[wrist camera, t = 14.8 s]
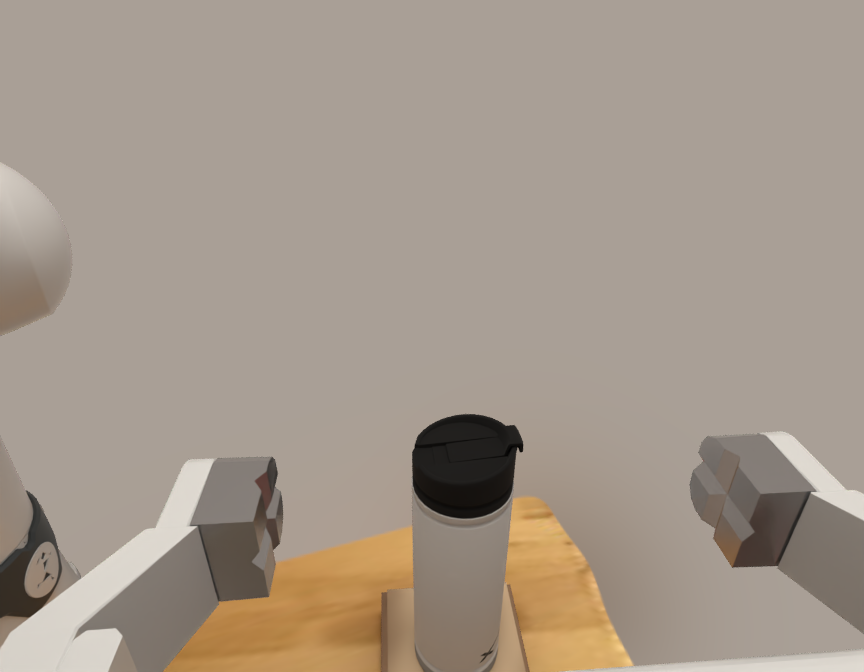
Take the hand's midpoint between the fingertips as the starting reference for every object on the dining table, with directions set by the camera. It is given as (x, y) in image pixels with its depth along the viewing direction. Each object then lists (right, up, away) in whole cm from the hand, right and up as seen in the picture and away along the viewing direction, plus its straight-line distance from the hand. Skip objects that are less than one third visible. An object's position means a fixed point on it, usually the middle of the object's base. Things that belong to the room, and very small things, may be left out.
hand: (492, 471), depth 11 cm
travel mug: (+1, -21, +32) cm, 39 cm away
